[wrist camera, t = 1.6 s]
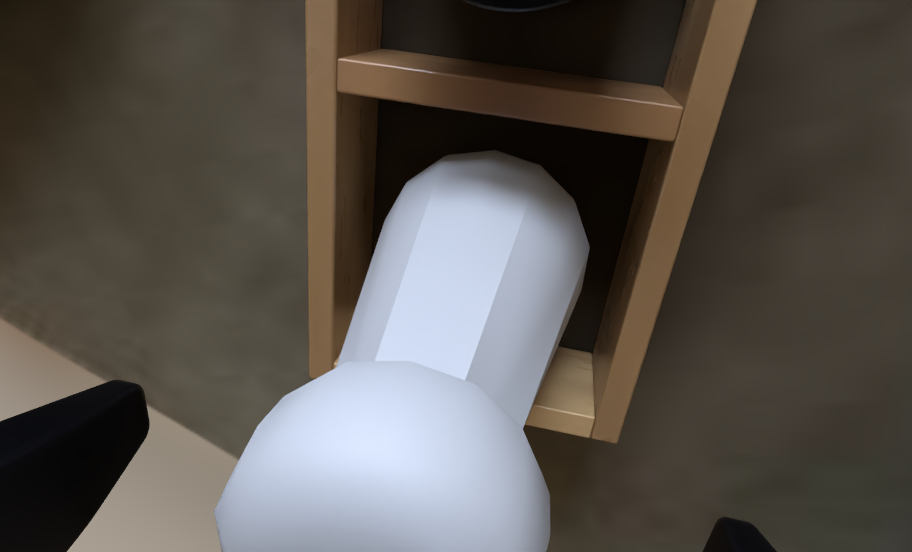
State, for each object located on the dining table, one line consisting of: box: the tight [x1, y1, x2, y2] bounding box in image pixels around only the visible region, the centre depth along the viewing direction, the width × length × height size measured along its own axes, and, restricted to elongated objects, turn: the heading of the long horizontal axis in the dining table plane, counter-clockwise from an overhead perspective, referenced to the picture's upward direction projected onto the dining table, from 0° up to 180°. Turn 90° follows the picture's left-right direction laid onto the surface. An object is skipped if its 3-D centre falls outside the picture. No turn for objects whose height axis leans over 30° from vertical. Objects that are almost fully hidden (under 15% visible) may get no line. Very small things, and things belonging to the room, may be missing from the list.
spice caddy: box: [305, 0, 757, 444], centre depth 14 cm, size 10×18×4 cm, turn 174°
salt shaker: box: [214, 150, 590, 552], centre depth 12 cm, size 6×6×13 cm
